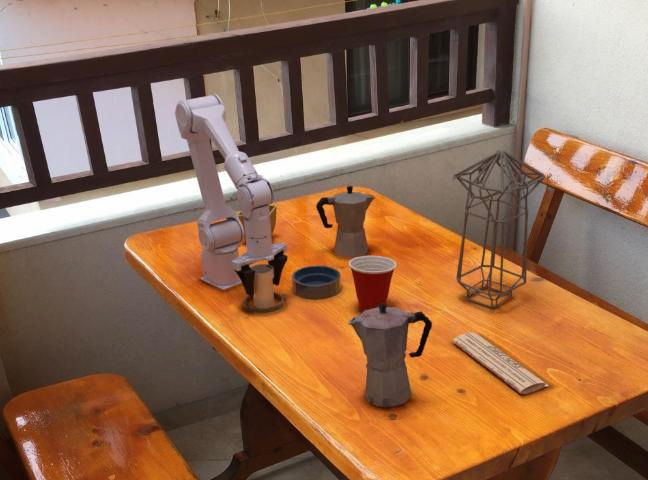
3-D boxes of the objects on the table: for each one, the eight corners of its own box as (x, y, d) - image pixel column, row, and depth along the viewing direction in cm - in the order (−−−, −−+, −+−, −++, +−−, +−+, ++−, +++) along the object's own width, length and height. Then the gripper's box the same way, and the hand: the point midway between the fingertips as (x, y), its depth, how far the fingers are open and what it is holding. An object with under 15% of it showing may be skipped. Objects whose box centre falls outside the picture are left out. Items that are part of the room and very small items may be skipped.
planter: (282, 290, 208) (281, 275, 206) (318, 276, 215) (317, 261, 213) (315, 305, 201) (314, 290, 199) (350, 290, 208) (350, 274, 206)
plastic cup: (403, 304, 201) (404, 256, 195) (385, 324, 193) (385, 275, 186) (361, 296, 205) (360, 249, 198) (341, 315, 197) (340, 267, 190)
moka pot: (348, 385, 171) (346, 294, 160) (425, 380, 172) (427, 289, 161) (352, 411, 163) (350, 317, 152) (433, 406, 164) (436, 313, 153)
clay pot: (247, 304, 201) (244, 268, 197) (265, 296, 205) (263, 261, 200) (262, 311, 198) (259, 276, 193) (281, 303, 201) (278, 268, 196)
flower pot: (270, 248, 230) (267, 216, 225) (239, 246, 232) (236, 214, 227) (279, 236, 237) (277, 205, 233) (248, 234, 239) (246, 203, 234)
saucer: (235, 306, 202) (235, 300, 201) (266, 293, 207) (266, 287, 206) (261, 318, 196) (260, 313, 195) (292, 305, 201) (292, 299, 201)
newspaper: (452, 344, 184) (452, 336, 183) (479, 336, 187) (480, 329, 186) (520, 396, 167) (521, 388, 166) (549, 386, 169) (550, 378, 168)
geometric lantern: (483, 278, 212) (493, 136, 193) (537, 298, 202) (552, 150, 184) (442, 299, 203) (448, 152, 184) (495, 320, 193) (508, 167, 175)
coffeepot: (371, 242, 232) (370, 177, 223) (379, 256, 224) (379, 189, 215) (315, 248, 230) (312, 183, 220) (321, 262, 222) (319, 195, 212)
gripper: (244, 248, 185) (249, 304, 193) (294, 229, 194) (297, 284, 201) (224, 239, 190) (229, 295, 197) (274, 221, 198) (278, 275, 205)
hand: (262, 289), depth 199 cm, fingers open, 7 cm apart
